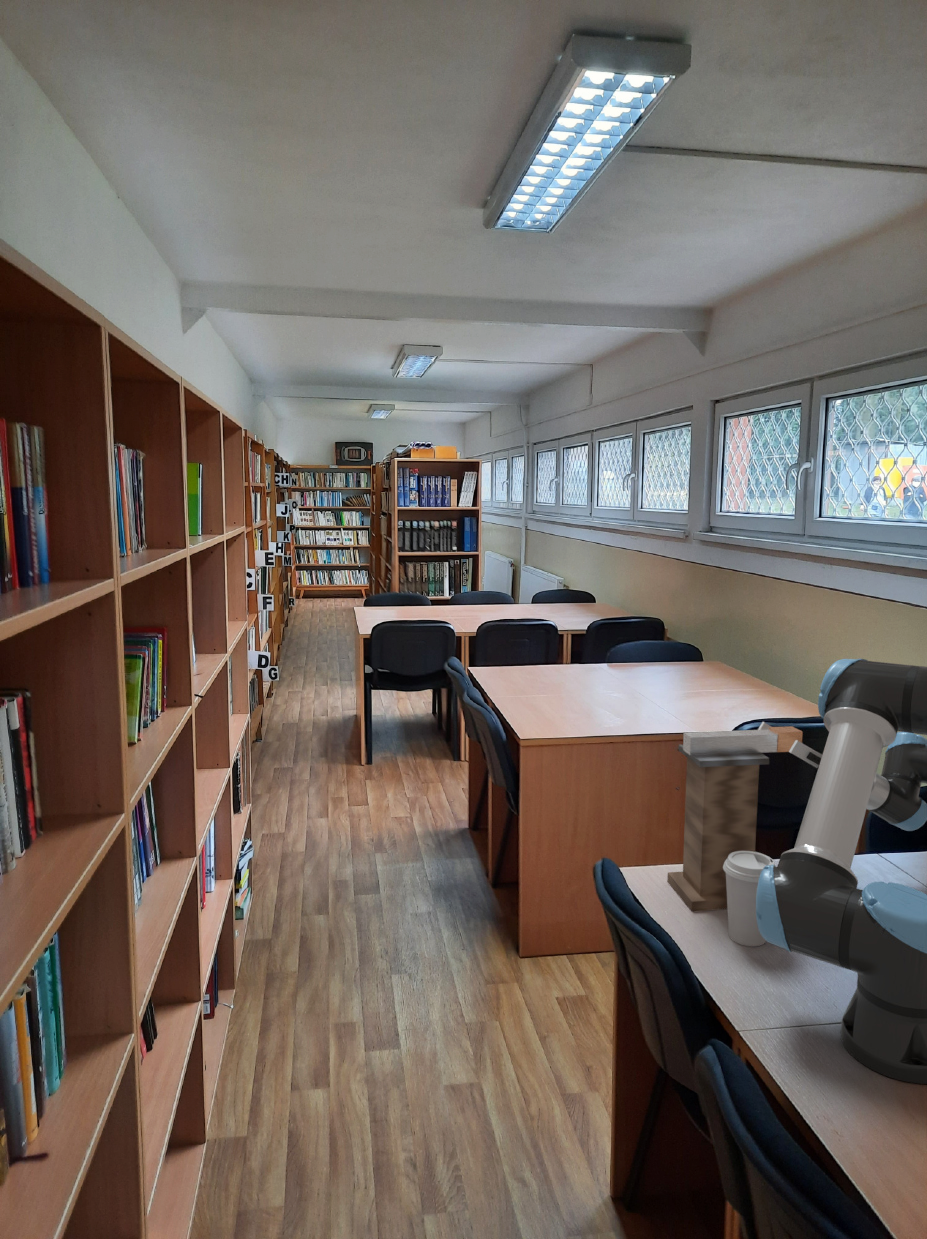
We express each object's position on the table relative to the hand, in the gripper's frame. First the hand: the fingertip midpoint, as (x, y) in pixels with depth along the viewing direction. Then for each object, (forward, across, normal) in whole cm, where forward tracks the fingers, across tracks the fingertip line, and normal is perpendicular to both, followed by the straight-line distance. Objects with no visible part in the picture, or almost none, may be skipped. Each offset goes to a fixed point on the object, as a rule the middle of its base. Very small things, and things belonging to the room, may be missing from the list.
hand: (775, 736), depth 167 cm
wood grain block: (+5, 0, -6) cm, 8 cm away
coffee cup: (-5, -17, -35) cm, 39 cm away
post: (-7, 0, -34) cm, 34 cm away
